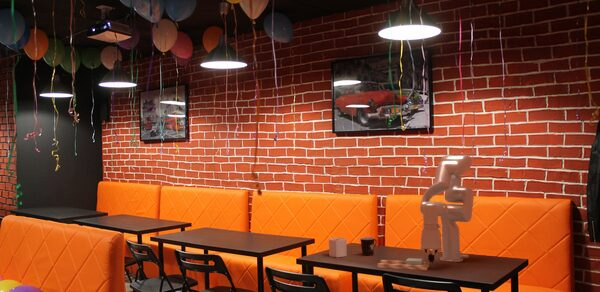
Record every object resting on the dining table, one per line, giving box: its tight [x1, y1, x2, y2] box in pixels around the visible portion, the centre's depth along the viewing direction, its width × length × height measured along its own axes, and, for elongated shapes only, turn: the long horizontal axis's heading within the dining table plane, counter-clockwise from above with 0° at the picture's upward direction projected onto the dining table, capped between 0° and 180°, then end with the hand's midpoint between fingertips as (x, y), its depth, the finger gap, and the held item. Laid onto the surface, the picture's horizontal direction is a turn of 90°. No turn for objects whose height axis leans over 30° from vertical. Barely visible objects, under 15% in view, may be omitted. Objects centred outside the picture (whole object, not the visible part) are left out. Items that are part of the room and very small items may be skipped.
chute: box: [376, 259, 430, 271], centre depth 283 cm, size 26×10×3 cm, turn 70°
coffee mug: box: [359, 236, 378, 257], centre depth 322 cm, size 12×9×10 cm
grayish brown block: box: [405, 257, 424, 265], centre depth 281 cm, size 8×6×4 cm
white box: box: [328, 237, 348, 258], centre depth 321 cm, size 11×12×10 cm
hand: (431, 262), depth 277 cm, fingers closed
